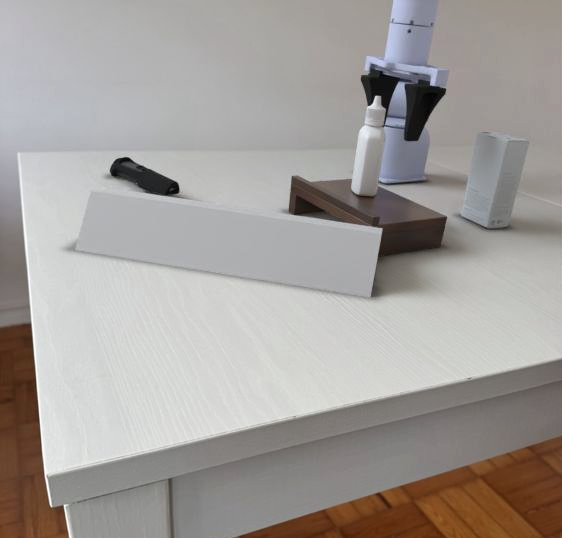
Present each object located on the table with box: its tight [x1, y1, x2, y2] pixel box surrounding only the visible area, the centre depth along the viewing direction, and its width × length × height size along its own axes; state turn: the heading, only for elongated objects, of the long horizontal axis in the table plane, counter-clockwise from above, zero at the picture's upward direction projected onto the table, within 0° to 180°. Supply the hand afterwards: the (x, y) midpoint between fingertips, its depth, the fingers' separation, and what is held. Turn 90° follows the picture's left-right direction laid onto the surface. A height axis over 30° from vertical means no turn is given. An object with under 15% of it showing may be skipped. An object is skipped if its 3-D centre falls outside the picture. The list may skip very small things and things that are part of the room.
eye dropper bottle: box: [351, 96, 386, 197], centre depth 78 cm, size 4×6×12 cm
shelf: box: [287, 175, 448, 257], centre depth 78 cm, size 12×18×5 cm, turn 31°
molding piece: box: [74, 188, 383, 298], centre depth 70 cm, size 32×12×10 cm
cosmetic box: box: [460, 130, 530, 229], centre depth 84 cm, size 6×4×12 cm
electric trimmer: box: [109, 156, 181, 196], centre depth 87 cm, size 4×16×3 cm, turn 42°
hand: (393, 134), depth 84 cm, fingers open, 7 cm apart
